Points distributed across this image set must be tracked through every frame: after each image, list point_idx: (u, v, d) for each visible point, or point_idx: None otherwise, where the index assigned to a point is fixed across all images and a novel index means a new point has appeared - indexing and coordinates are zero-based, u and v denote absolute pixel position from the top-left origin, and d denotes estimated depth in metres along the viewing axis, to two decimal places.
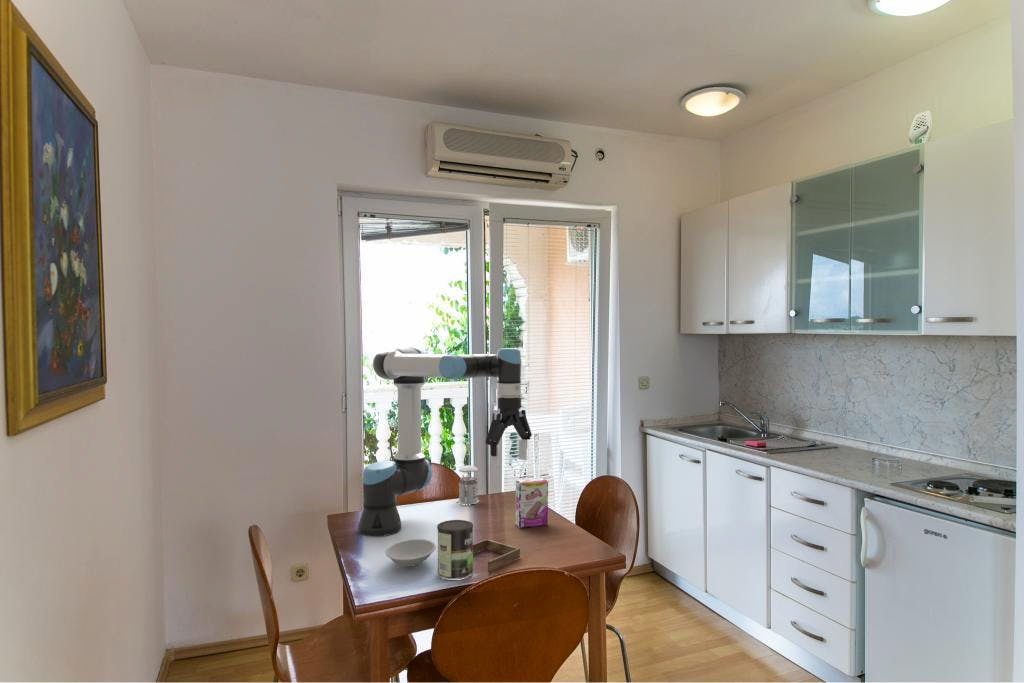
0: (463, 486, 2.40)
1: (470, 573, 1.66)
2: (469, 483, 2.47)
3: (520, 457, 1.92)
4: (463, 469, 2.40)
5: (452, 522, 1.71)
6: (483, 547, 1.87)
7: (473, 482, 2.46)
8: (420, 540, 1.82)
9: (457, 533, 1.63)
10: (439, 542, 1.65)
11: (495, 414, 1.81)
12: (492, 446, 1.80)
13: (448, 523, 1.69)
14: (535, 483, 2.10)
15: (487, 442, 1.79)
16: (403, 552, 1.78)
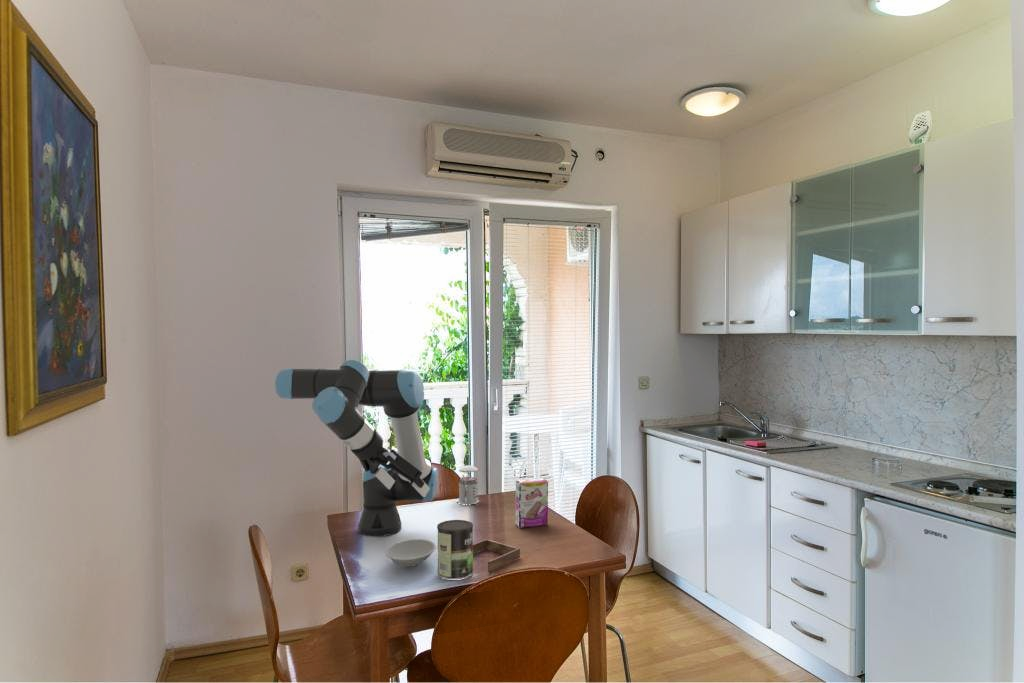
0: (463, 486, 2.40)
1: (470, 573, 1.66)
2: (469, 483, 2.47)
3: None
4: (463, 469, 2.40)
5: (452, 522, 1.71)
6: (483, 547, 1.87)
7: (473, 482, 2.46)
8: (420, 540, 1.82)
9: (457, 533, 1.63)
10: (439, 542, 1.65)
11: None
12: None
13: (448, 523, 1.69)
14: (535, 483, 2.10)
15: None
16: (403, 552, 1.78)
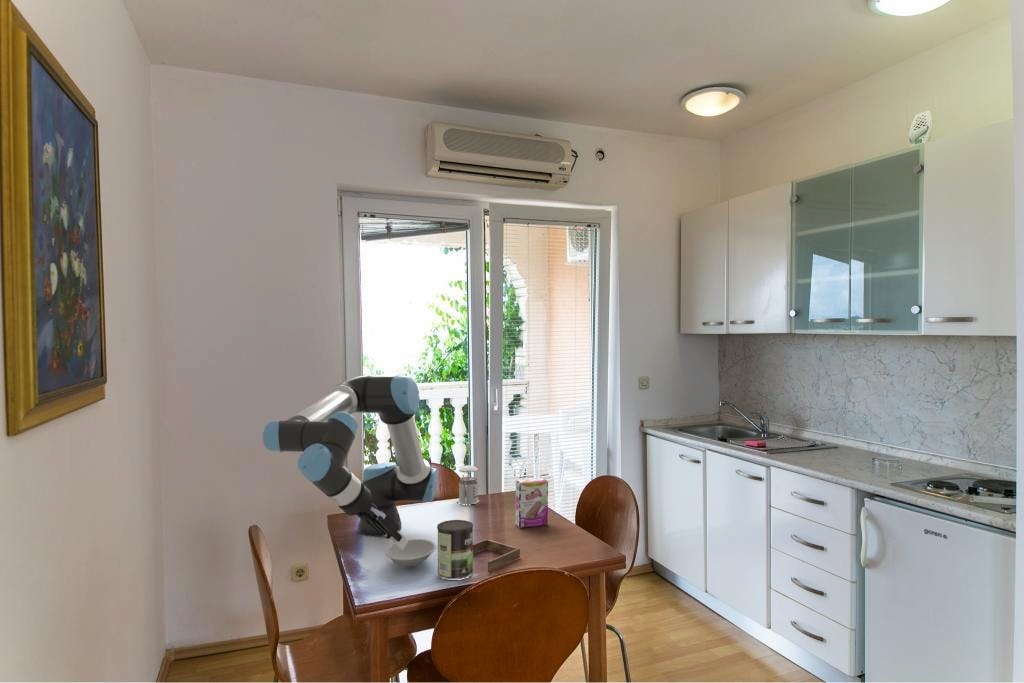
0: (463, 486, 2.40)
1: (470, 573, 1.66)
2: (469, 483, 2.47)
3: None
4: (463, 469, 2.40)
5: (452, 522, 1.71)
6: (483, 547, 1.87)
7: (473, 482, 2.46)
8: (420, 540, 1.82)
9: (457, 533, 1.63)
10: (439, 542, 1.65)
11: None
12: None
13: (448, 523, 1.69)
14: (535, 483, 2.10)
15: None
16: (403, 552, 1.78)
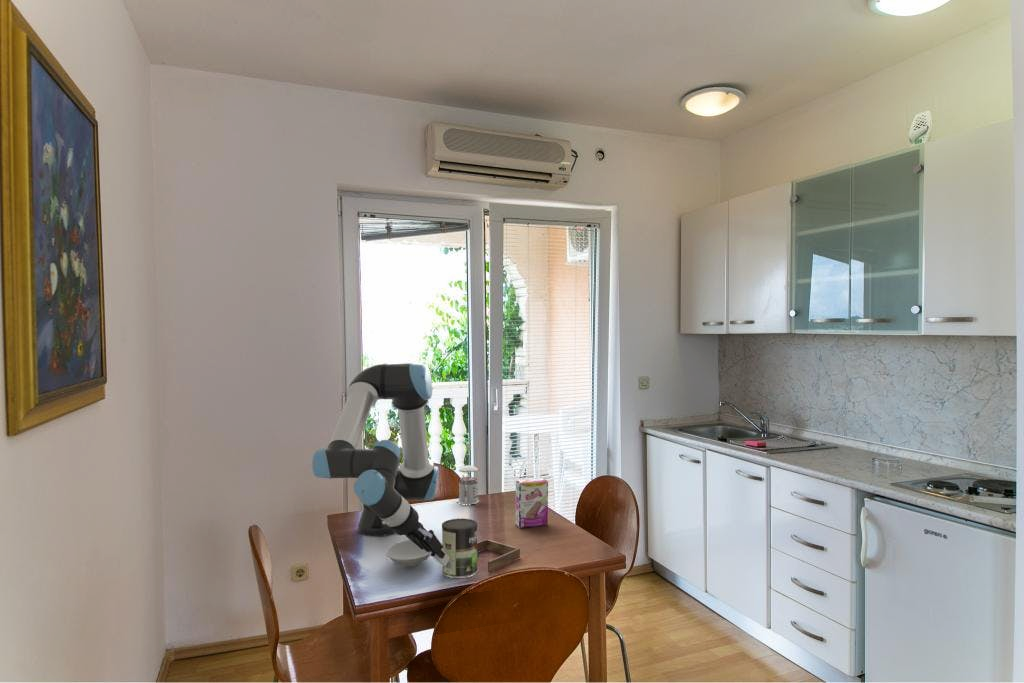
0: (463, 486, 2.40)
1: (474, 571, 1.67)
2: (469, 483, 2.47)
3: None
4: (463, 469, 2.40)
5: (456, 521, 1.72)
6: (483, 547, 1.87)
7: (473, 482, 2.46)
8: None
9: (461, 532, 1.64)
10: (444, 540, 1.66)
11: None
12: None
13: (453, 522, 1.71)
14: (535, 483, 2.10)
15: None
16: (403, 552, 1.78)
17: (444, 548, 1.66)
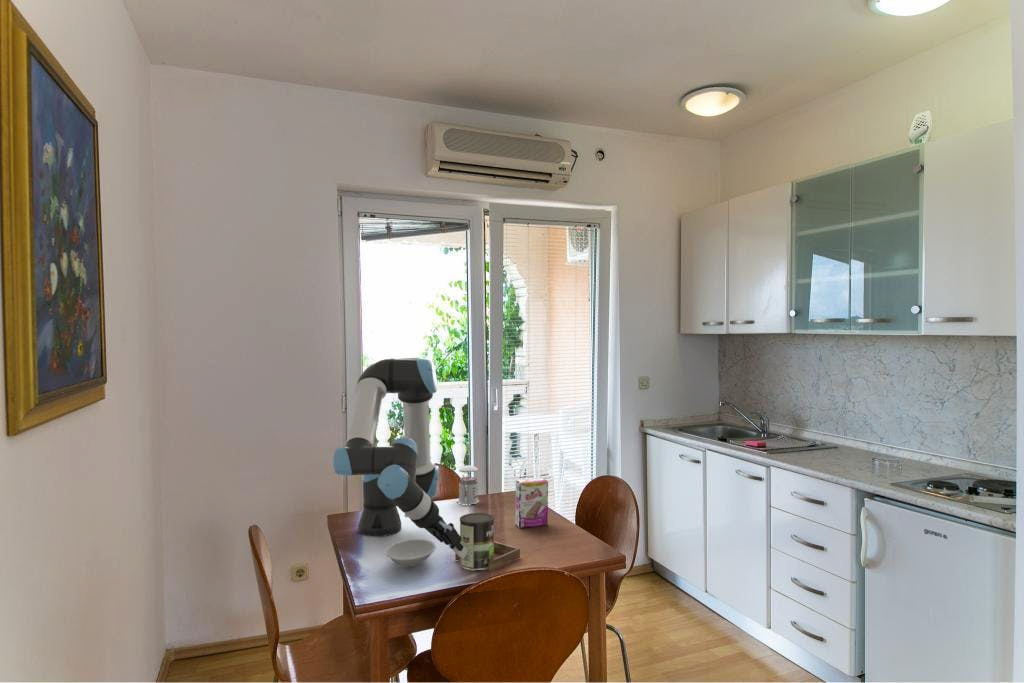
0: (463, 486, 2.40)
1: None
2: (469, 483, 2.47)
3: None
4: (463, 469, 2.40)
5: (473, 515, 1.77)
6: None
7: (473, 482, 2.46)
8: (420, 540, 1.82)
9: (479, 526, 1.70)
10: (462, 534, 1.72)
11: None
12: None
13: (470, 516, 1.76)
14: (535, 483, 2.10)
15: None
16: (403, 552, 1.78)
17: (462, 541, 1.72)
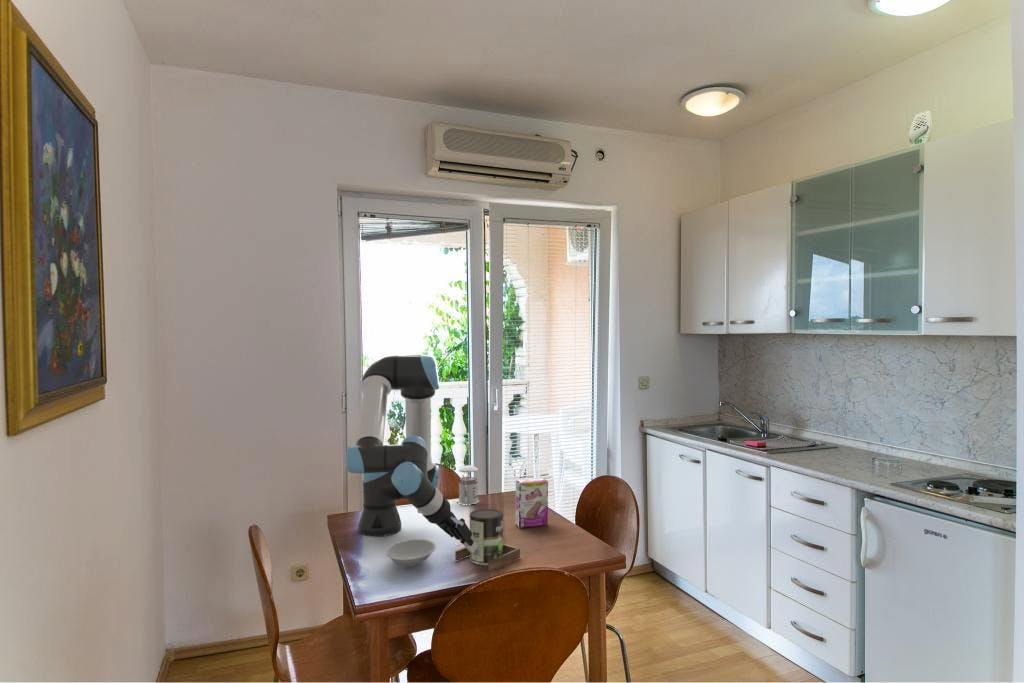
0: (463, 486, 2.40)
1: None
2: (469, 483, 2.47)
3: None
4: (463, 469, 2.40)
5: (483, 511, 1.82)
6: None
7: (473, 482, 2.46)
8: (420, 540, 1.82)
9: (489, 521, 1.74)
10: (472, 529, 1.76)
11: None
12: None
13: (480, 512, 1.80)
14: (535, 483, 2.10)
15: None
16: (403, 552, 1.78)
17: (472, 536, 1.76)
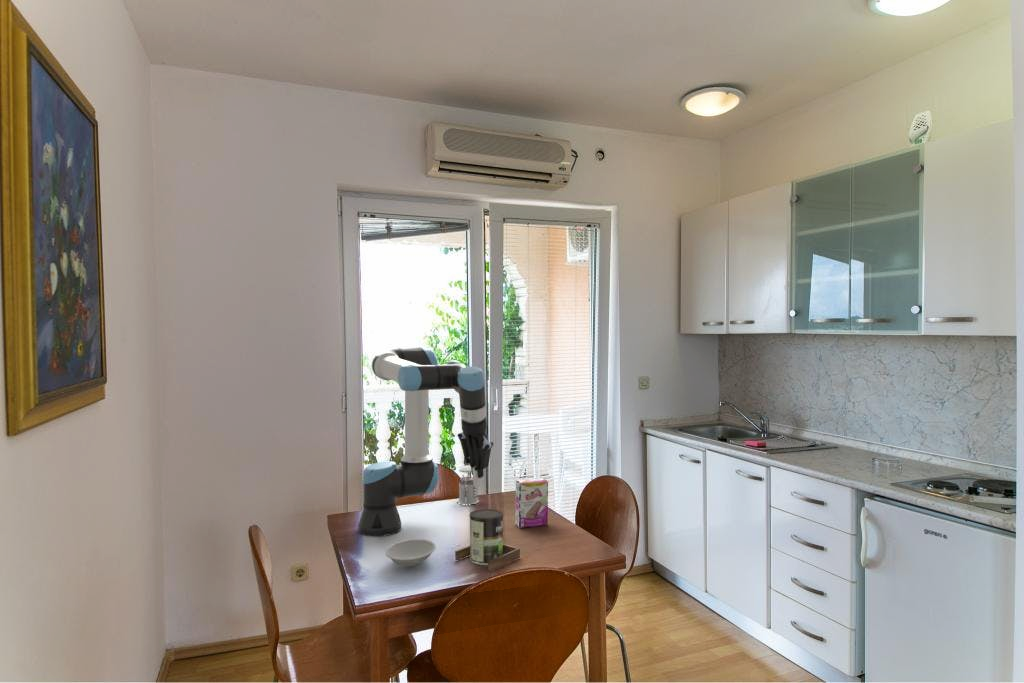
0: (463, 486, 2.40)
1: None
2: (469, 483, 2.47)
3: None
4: (463, 469, 2.40)
5: (483, 511, 1.82)
6: None
7: None
8: (420, 540, 1.82)
9: (489, 521, 1.74)
10: (472, 529, 1.76)
11: None
12: None
13: (480, 512, 1.80)
14: (535, 483, 2.10)
15: None
16: (403, 552, 1.78)
17: (472, 536, 1.76)
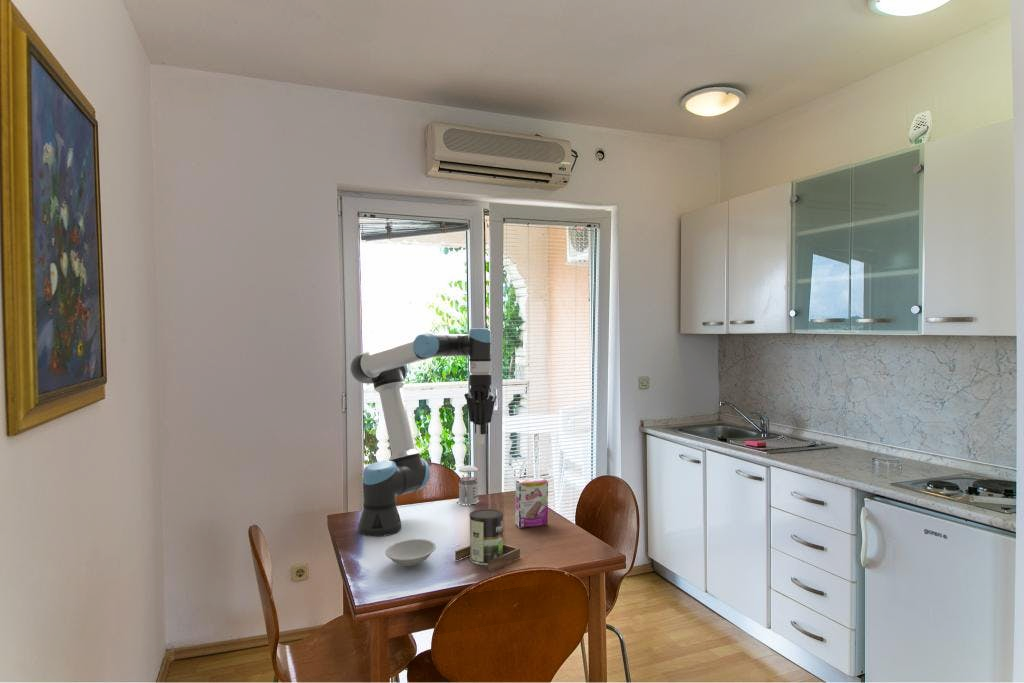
0: (463, 486, 2.40)
1: None
2: (469, 483, 2.47)
3: None
4: (463, 469, 2.40)
5: (483, 511, 1.82)
6: None
7: (473, 482, 2.46)
8: (420, 540, 1.82)
9: (489, 521, 1.74)
10: (472, 529, 1.76)
11: None
12: None
13: (480, 512, 1.80)
14: (535, 483, 2.10)
15: None
16: (403, 552, 1.78)
17: (472, 536, 1.76)
